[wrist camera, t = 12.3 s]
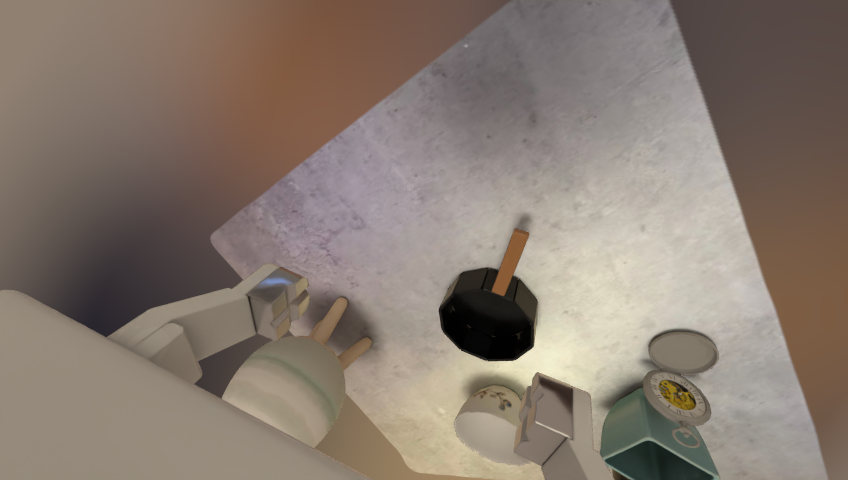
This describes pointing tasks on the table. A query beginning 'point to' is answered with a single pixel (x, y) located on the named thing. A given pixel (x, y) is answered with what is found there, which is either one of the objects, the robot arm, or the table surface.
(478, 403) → the white floral bowl
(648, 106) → the table surface
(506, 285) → the saucepan
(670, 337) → the pocket watch
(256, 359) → the planter
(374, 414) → the table surface
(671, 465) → the flower pot
